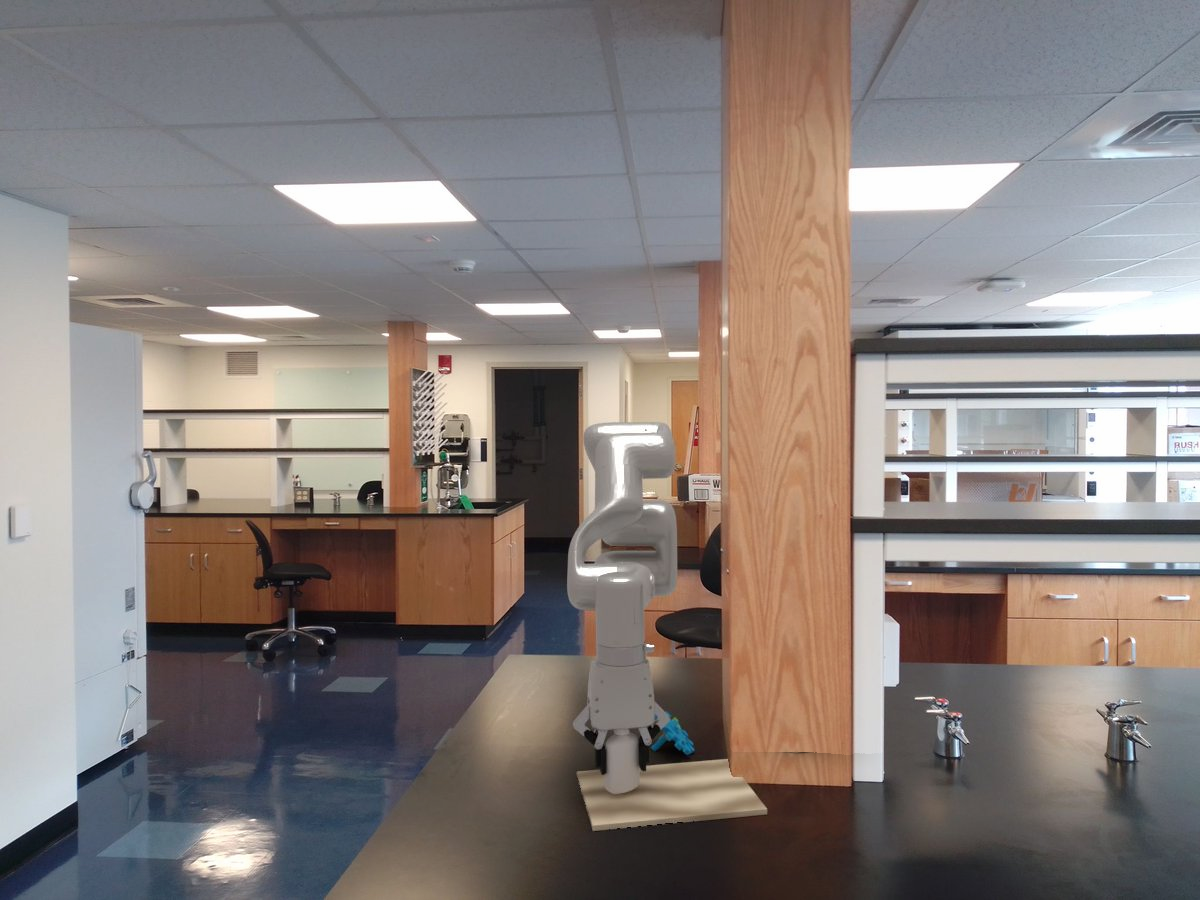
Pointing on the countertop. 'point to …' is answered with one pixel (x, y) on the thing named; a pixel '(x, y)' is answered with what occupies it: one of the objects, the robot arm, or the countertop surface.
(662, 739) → the gear
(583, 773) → the beige flat sheet
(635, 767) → the eye dropper bottle
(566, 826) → the countertop surface
